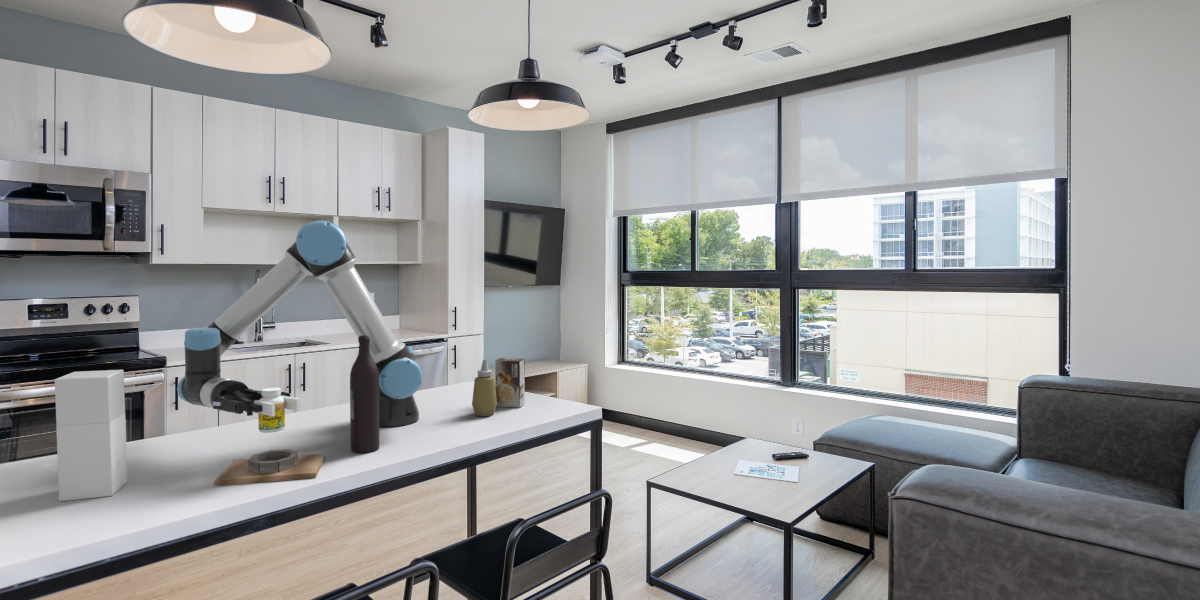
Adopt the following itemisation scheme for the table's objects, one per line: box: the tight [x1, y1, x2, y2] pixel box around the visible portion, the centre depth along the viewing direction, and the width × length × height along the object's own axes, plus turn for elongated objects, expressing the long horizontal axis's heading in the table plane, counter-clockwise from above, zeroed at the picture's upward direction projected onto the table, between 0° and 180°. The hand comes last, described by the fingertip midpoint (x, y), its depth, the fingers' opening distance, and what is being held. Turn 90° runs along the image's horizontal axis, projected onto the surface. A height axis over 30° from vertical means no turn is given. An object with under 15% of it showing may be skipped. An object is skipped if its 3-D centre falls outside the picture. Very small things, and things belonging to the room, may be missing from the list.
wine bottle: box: [349, 335, 380, 454], centre depth 155 cm, size 7×7×30 cm
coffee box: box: [494, 357, 526, 408], centre depth 207 cm, size 9×6×16 cm
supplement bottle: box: [257, 387, 286, 434], centre depth 138 cm, size 5×5×10 cm
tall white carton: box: [54, 369, 128, 502], centre depth 125 cm, size 9×9×25 cm
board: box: [214, 448, 326, 487], centre depth 139 cm, size 20×14×4 cm
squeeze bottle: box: [471, 358, 497, 417], centre depth 193 cm, size 8×8×18 cm
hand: (285, 407), depth 136 cm, fingers closed on supplement bottle, 5 cm apart
